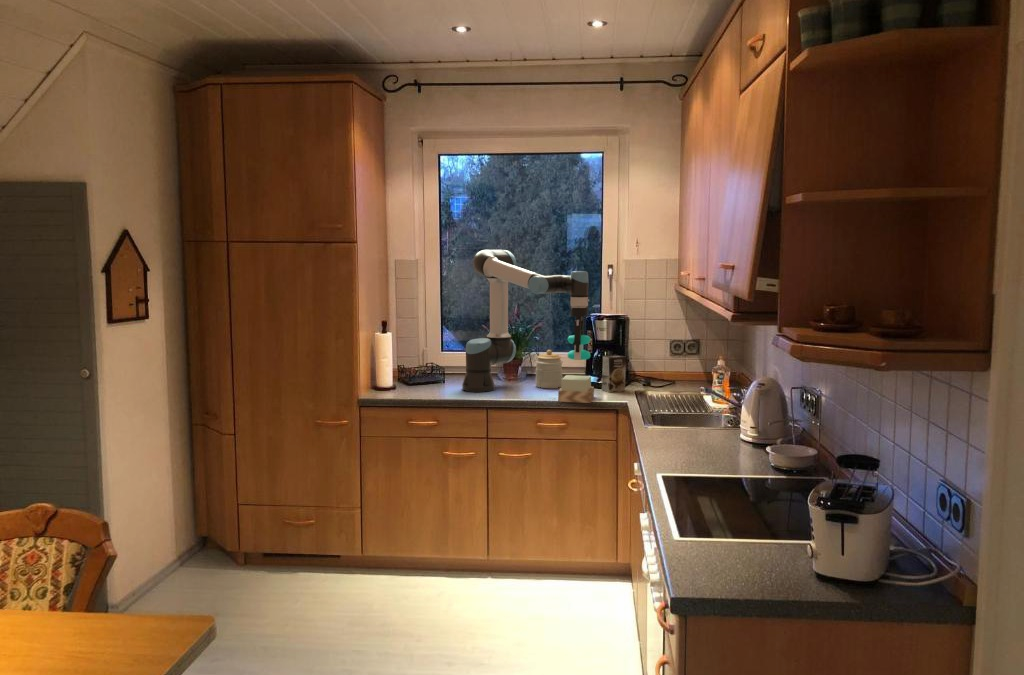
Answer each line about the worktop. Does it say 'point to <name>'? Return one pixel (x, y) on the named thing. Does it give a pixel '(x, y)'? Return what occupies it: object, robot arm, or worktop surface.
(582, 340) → the donuts
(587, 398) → the tower base
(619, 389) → the coffee box
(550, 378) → the jar
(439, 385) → the worktop surface
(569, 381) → the tower top
